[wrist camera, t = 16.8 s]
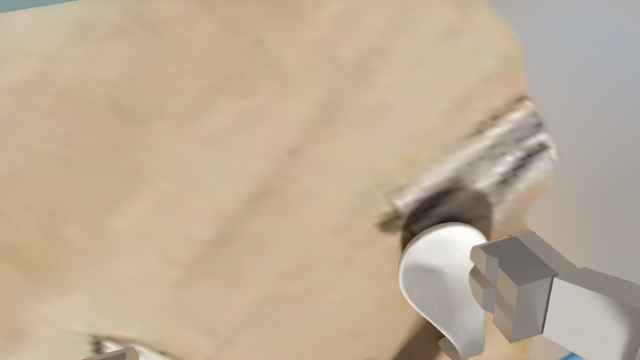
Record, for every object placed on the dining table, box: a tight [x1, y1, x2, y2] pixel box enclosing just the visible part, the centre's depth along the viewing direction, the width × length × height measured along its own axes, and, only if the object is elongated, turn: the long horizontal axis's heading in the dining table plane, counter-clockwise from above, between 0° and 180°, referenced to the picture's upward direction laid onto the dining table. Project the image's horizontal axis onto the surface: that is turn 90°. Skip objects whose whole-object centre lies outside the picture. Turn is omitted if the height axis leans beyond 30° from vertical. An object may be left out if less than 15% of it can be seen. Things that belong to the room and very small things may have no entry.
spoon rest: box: [398, 222, 488, 360], centre depth 54 cm, size 24×12×7 cm, turn 18°
